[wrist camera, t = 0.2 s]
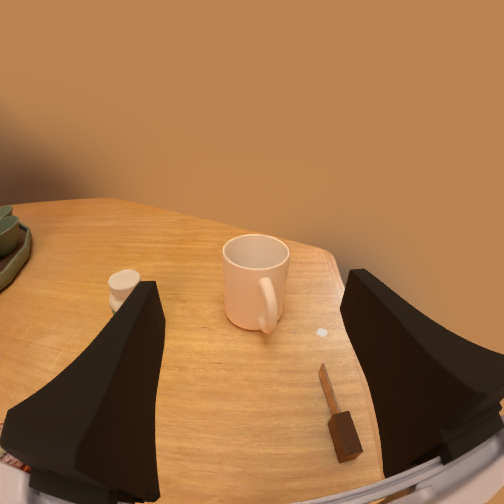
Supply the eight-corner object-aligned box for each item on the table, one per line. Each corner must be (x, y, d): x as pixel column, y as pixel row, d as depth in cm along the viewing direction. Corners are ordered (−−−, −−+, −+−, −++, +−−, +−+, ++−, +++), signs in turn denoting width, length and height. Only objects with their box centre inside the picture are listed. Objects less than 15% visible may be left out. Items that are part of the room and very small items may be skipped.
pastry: (12, 419, 21) (-10, 397, 19) (51, 449, 20) (27, 429, 17) (-13, 461, 15) (-39, 442, 12) (24, 498, 13) (-4, 483, 11)
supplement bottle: (167, 327, 38) (154, 270, 33) (148, 355, 34) (129, 298, 29) (135, 317, 39) (120, 262, 34) (115, 342, 35) (94, 286, 30)
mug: (300, 346, 36) (312, 284, 31) (236, 358, 34) (235, 295, 29) (272, 289, 46) (277, 231, 41) (220, 296, 44) (217, 237, 39)
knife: (355, 458, 23) (363, 451, 21) (339, 463, 22) (346, 456, 21) (326, 371, 33) (330, 360, 31) (312, 374, 32) (315, 362, 31)
